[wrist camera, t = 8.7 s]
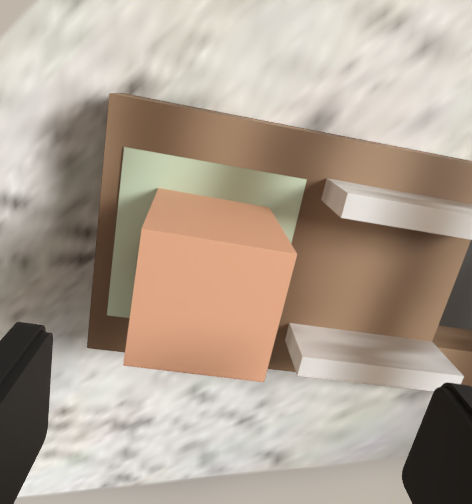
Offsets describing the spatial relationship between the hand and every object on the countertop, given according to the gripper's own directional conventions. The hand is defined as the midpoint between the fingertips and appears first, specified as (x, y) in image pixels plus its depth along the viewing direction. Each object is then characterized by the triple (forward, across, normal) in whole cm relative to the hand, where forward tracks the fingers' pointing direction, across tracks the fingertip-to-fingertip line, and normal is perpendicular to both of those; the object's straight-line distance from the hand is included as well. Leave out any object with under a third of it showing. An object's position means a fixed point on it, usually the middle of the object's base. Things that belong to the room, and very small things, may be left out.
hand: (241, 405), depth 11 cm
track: (+14, -7, 0) cm, 15 cm away
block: (+10, +1, 0) cm, 11 cm away
